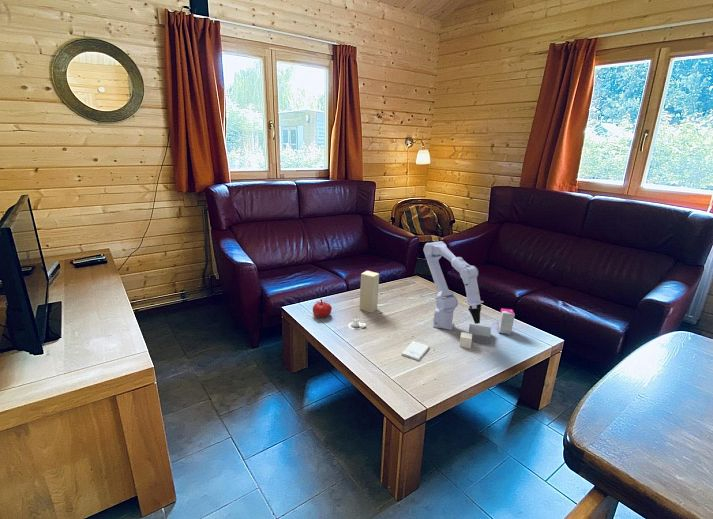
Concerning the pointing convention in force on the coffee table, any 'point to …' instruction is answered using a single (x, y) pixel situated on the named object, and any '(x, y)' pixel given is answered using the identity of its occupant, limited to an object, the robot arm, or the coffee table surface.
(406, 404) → the coffee table surface
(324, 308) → the pomegranate
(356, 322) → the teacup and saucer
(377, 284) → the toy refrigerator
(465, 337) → the cream cube
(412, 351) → the external hard drive
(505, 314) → the supplement box
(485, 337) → the gray block
